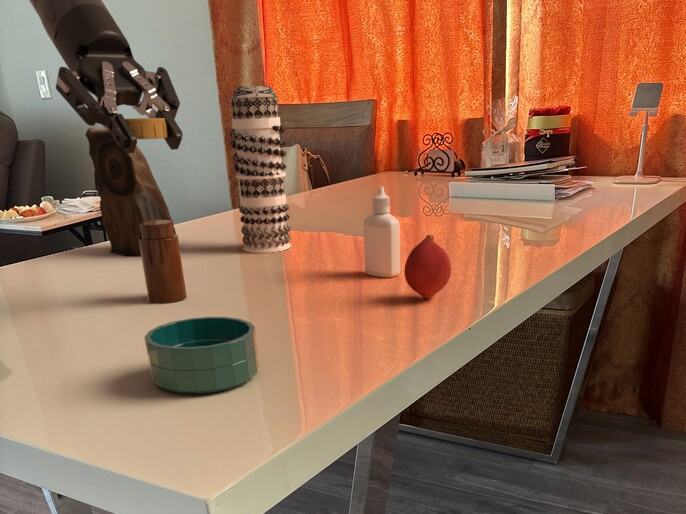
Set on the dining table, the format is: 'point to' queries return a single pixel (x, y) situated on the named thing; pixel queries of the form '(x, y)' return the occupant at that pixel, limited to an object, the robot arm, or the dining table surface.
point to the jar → (162, 262)
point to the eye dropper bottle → (381, 239)
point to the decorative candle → (260, 169)
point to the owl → (124, 191)
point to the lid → (148, 127)
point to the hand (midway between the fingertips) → (155, 145)
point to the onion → (427, 268)
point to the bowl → (202, 354)
